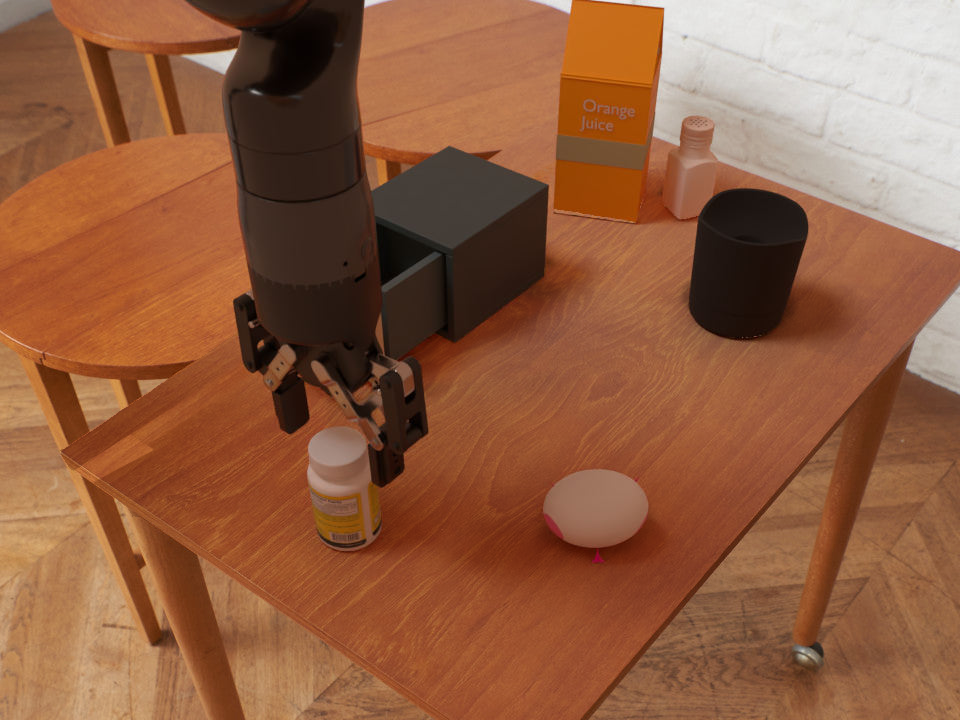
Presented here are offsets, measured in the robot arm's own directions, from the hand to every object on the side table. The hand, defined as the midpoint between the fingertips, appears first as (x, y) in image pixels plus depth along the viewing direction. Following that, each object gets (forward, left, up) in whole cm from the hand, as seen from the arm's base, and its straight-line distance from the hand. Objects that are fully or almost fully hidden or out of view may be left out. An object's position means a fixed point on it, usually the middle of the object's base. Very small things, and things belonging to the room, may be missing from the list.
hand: (340, 452), depth 71 cm
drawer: (+17, +14, -7) cm, 23 cm away
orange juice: (+51, +12, -8) cm, 53 cm away
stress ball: (+11, -14, -8) cm, 19 cm away
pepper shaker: (+55, +4, -8) cm, 56 cm away
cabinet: (+29, +14, -8) cm, 33 cm away
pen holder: (+42, -9, -8) cm, 44 cm away
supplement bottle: (0, 0, -8) cm, 8 cm away
